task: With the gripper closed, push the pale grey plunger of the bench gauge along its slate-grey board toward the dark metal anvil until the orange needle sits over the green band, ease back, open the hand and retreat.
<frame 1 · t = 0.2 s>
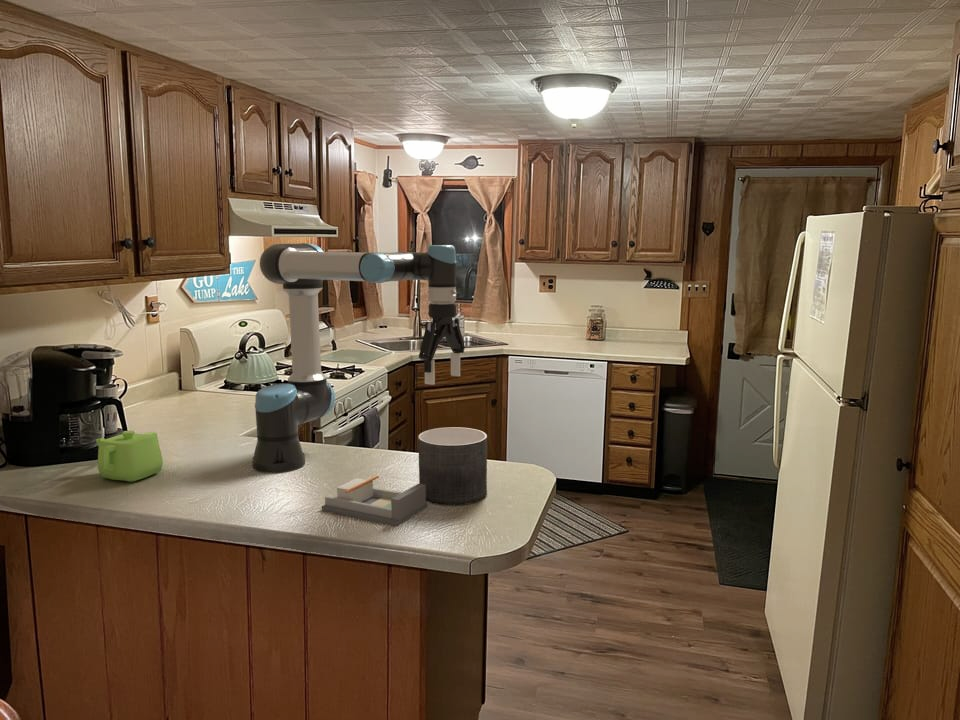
hand: (443, 380, 199), 28 cm above the countertop, fingers open, 13 cm apart
teapot: (126, 476, 205), on the countertop
gauge base: (375, 508, 179), on the countertop
plunger: (353, 490, 182), point 4 cm above the countertop, slide at 0.0 cm
planter: (453, 494, 190), on the countertop
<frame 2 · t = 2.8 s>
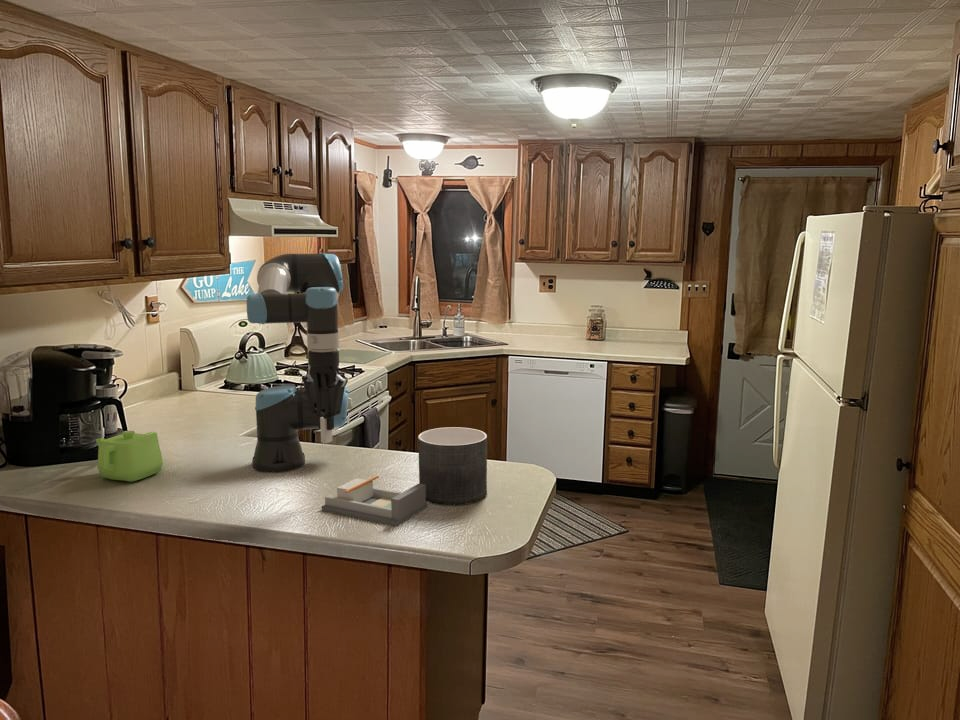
hand: (326, 441, 183), 15 cm above the countertop, fingers closed
nothing on the countertop moved.
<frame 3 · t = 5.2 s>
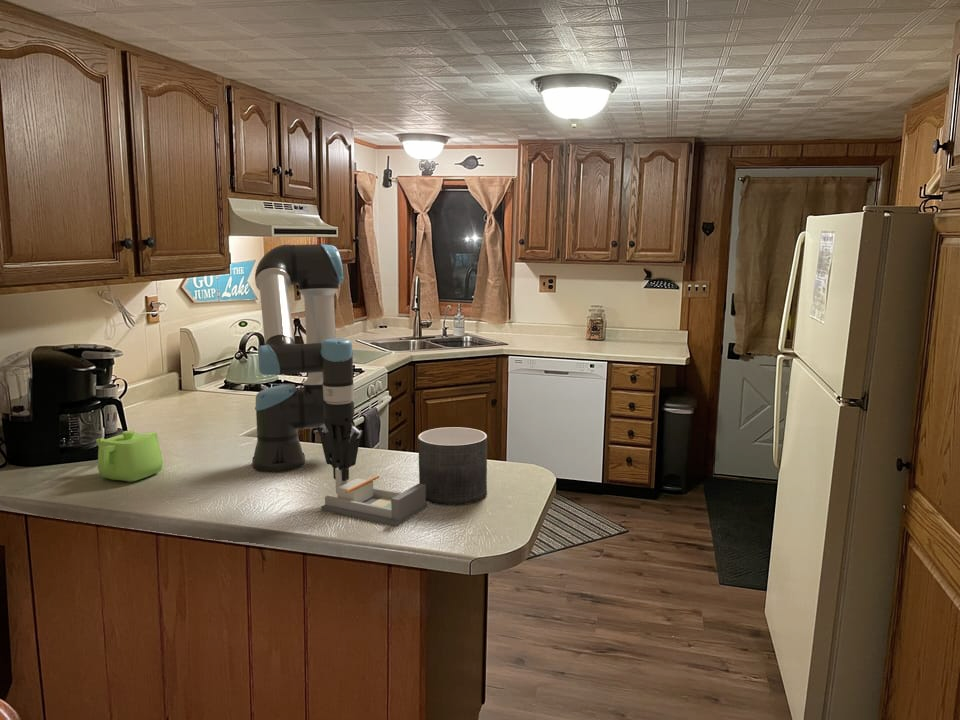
hand: (341, 492, 183), 3 cm above the countertop, fingers closed
plunger: (354, 490, 182), point 4 cm above the countertop, slide at 0.1 cm, touching gripper
everything else where it was.
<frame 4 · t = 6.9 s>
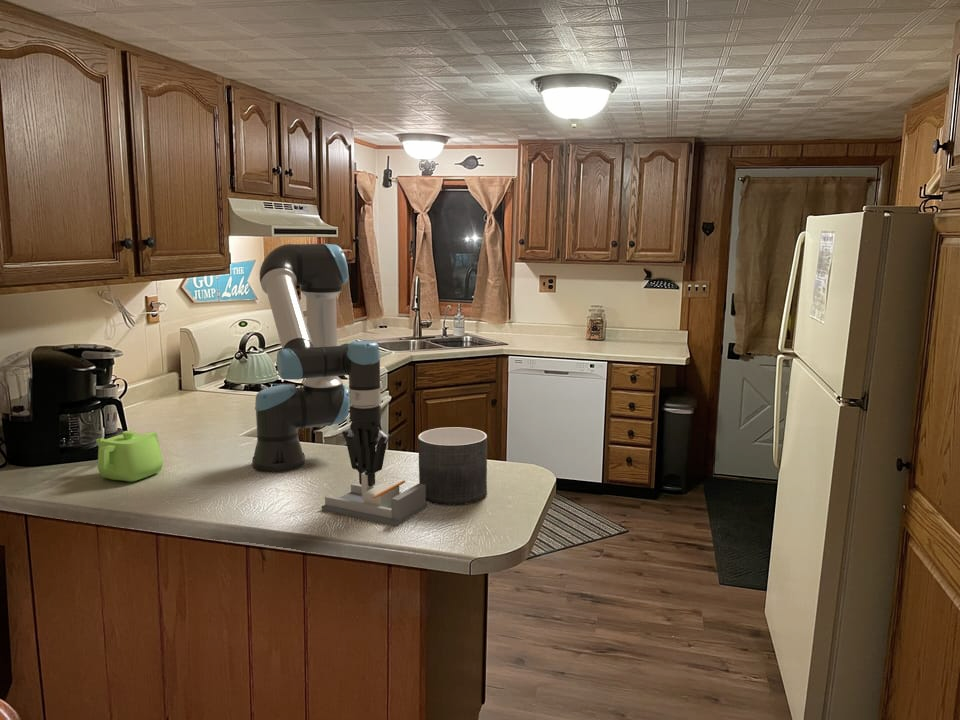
hand: (367, 497, 180), 2 cm above the countertop, fingers closed
plunger: (380, 495, 178), point 4 cm above the countertop, slide at 8.1 cm, touching gripper
everything else where it was.
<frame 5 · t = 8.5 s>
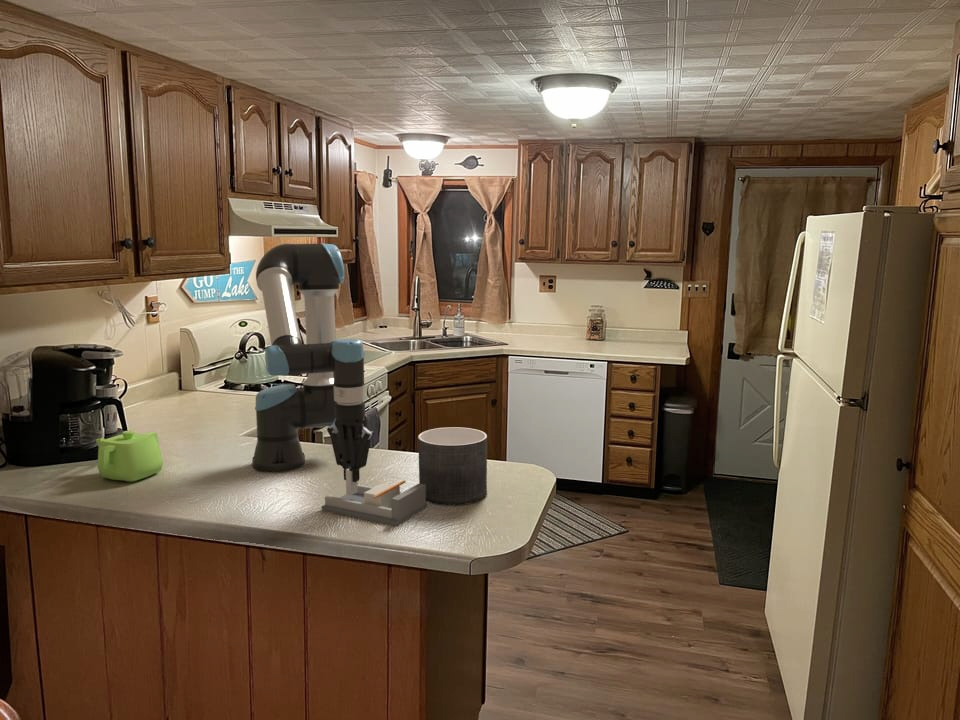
hand: (352, 493, 182), 3 cm above the countertop, fingers closed
plunger: (380, 495, 178), point 4 cm above the countertop, slide at 8.2 cm
everything else where it was.
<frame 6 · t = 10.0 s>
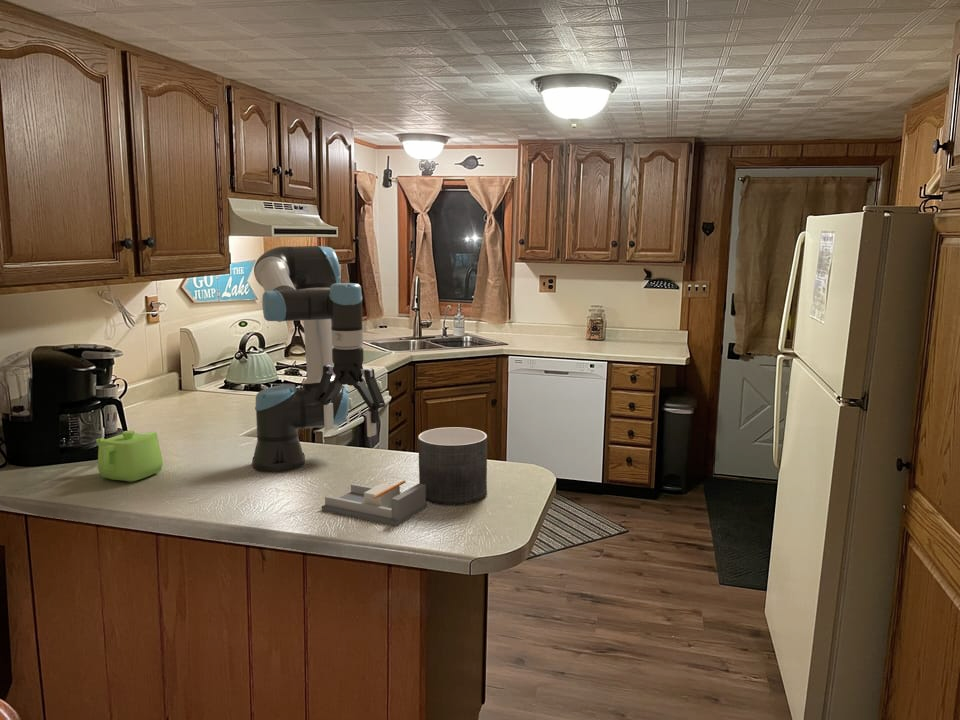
hand: (350, 432, 180), 19 cm above the countertop, fingers open, 12 cm apart
nothing on the countertop moved.
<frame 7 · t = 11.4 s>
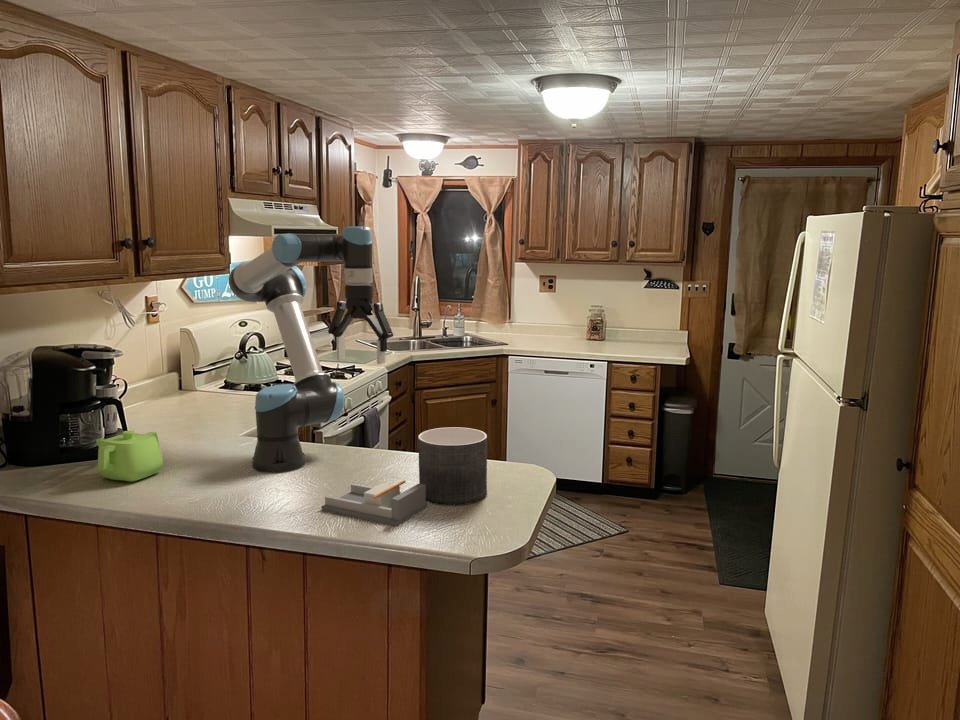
hand: (360, 361, 200), 33 cm above the countertop, fingers open, 13 cm apart
nothing on the countertop moved.
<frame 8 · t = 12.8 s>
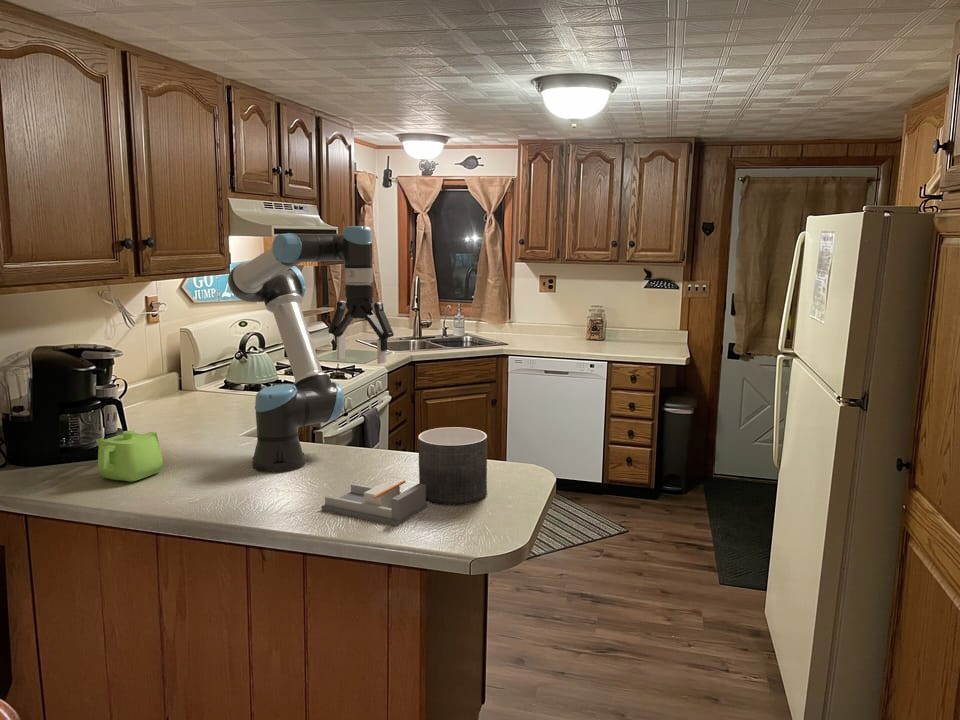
hand: (361, 361, 200), 33 cm above the countertop, fingers open, 13 cm apart
nothing on the countertop moved.
at the end: plunger slide at 8.2 cm; the gripper is holding nothing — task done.
